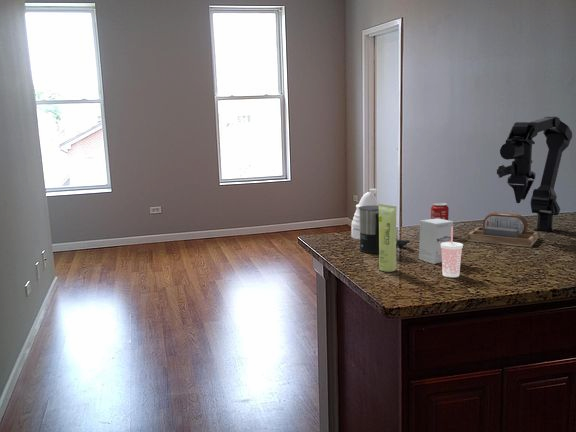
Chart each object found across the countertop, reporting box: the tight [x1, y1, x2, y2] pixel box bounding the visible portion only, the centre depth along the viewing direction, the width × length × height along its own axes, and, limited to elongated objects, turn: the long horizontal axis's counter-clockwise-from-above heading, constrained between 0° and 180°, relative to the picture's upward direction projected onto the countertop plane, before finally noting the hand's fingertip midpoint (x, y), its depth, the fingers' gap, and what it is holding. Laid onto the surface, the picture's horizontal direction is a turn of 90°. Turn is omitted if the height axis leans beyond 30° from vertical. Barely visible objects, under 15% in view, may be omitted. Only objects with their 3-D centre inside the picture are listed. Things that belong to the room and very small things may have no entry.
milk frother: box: [358, 205, 411, 254], centre depth 197 cm, size 14×16×15 cm
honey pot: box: [351, 188, 380, 241], centre depth 217 cm, size 13×13×18 cm
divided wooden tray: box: [467, 226, 539, 248], centre depth 207 cm, size 14×21×2 cm
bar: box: [483, 226, 519, 238], centre depth 205 cm, size 11×4×4 cm, turn 53°
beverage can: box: [430, 202, 450, 220], centre depth 216 cm, size 6×6×12 cm
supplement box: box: [418, 218, 454, 265], centre depth 181 cm, size 7×7×13 cm
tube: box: [378, 203, 397, 273], centre depth 171 cm, size 6×5×20 cm
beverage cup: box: [441, 226, 464, 278], centre depth 165 cm, size 6×6×14 cm
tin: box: [482, 211, 529, 234], centre depth 210 cm, size 15×3×8 cm, turn 58°
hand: (520, 201), depth 210 cm, fingers open, 9 cm apart
